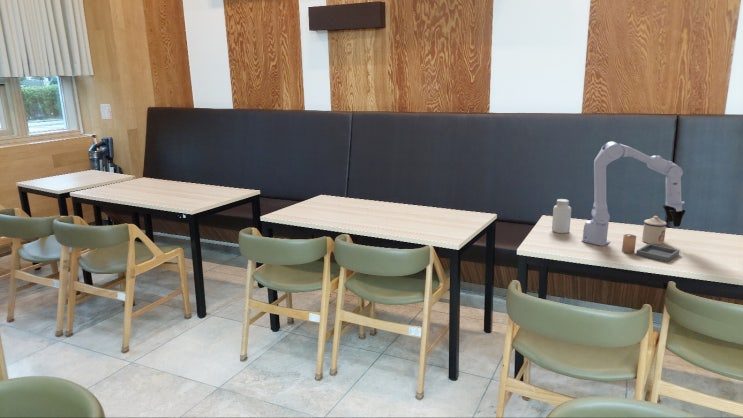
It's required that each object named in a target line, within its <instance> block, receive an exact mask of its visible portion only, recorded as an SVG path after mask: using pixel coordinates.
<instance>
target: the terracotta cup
mask: <svg viewBox="0 0 743 418" xmlns="http://www.w3.org/2000/svg"><path fill="white" fill-rule="evenodd" d="M636 243H637V235H635V234H630V233H625V234H623V238H622V245H621V246H622V247H621V252H622V253H624V254H630V255H632V254H635V252H636Z"/></svg>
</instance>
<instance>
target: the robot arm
mask: <svg viewBox="0 0 743 418" xmlns="http://www.w3.org/2000/svg"><path fill="white" fill-rule="evenodd" d="M621 157H622V158H627V157H630V158H633V159H636V160H637V161H640V162H641V163H642V162H643V163H644V164H646V167H647V168H648V169H650V170H653V171H655V172H657V173H659V174H661V175H664V176H665V203H664V204H663V205H662V208H663V209H664V212H665V214H666V218H667V221H668V222H672V224H673V227H680V226H681V225H682V219H683V217H684V215H685V213H686V210H685V209H683V205H685V201H682V181H681V180H682V179H681V178H682V176H683V174H684V171H683V169H682V167H681V166H680V165H677V164H676V163H675V162H673V161H671V160H667V159H664V158H663V156H662V155H656V154H655V155H652V156H650V155H647V154H646V153H643V152H641V151H640V150H638V149H635V148H633V147H631V146H628V145H625V144H622V143H618V142H616V141H613V140H611V141H608V142H606V143H605V144H604V145H602V146H601V149H600V151H599V152H598V153H597V155H596V157H595V158H594V160H593V178H594V179H593V184H594V185H593V187H594V190H593V192H594V193H593V196H594V199H593V200H594V201H593V207H592V209H591V212H590V213H591V217H592V218H591V220H586V221H585V223H584V225H583V229H582V231H583V234H582V239H581V242H584V243H587V244H592V245H596V246H601V247H603V246H605V245H608V244H609V243H611V241H610V240H608V231H609V224H610V223H609V222H610V219H611V215H610V213H609V211H608V204H607V203H608V202H607V166H609V164H610V163H612V162H614V161H615V160H618V159H620V158H621Z"/></svg>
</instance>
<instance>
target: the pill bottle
mask: <svg viewBox="0 0 743 418" xmlns="http://www.w3.org/2000/svg"><path fill="white" fill-rule="evenodd" d="M571 216H572V207H571V206H570V200H568V199H565V198H557V200H556V204H555V205H554V206H553V210H552V220H551V221H552V222H551V224H552V225H551V231H552V232H553V233H556V232H557V233H558V234H568V233H569V232H570V231H571V230H570V229H571V218H572V217H571Z"/></svg>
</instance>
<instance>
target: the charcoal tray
mask: <svg viewBox="0 0 743 418" xmlns="http://www.w3.org/2000/svg"><path fill="white" fill-rule="evenodd" d="M635 252H636V253H635V256H638V257H641V258H647V259H651V260H655V261H659V262H664V263H669V262H671V261H672V260H673V259H675V258H676V257H678V256H680V249H674V248H670V247H668V246H667V247H666V246H661V245H655V244H648V243H647V244H645V245H644V246H642V247H640V248H638V249H637V250H635Z"/></svg>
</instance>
